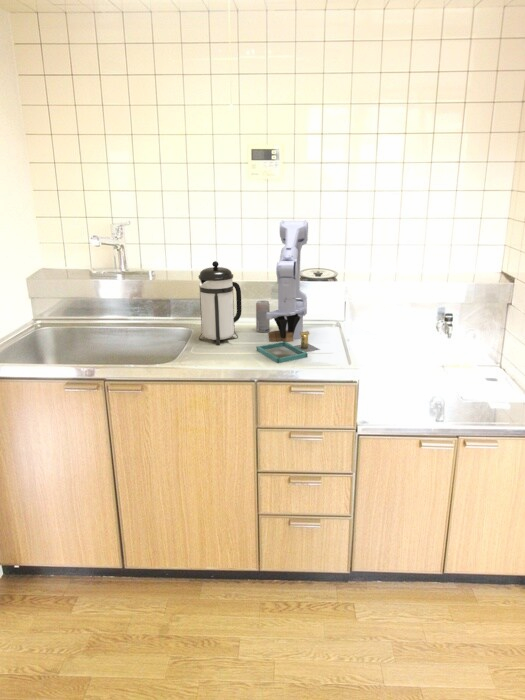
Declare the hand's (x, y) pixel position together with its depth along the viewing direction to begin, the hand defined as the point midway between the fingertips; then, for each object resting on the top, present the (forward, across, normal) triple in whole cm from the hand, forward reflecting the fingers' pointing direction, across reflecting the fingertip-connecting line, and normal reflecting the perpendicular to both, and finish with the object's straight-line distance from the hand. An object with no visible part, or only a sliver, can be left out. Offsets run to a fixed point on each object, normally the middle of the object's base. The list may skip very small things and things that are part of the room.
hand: (286, 337), depth 173 cm
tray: (+8, 0, +4) cm, 9 cm away
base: (+8, +10, +4) cm, 14 cm away
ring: (+2, 0, +3) cm, 4 cm away
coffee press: (+8, -10, +33) cm, 36 cm away
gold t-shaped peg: (+8, +10, +4) cm, 14 cm away
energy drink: (+8, +9, +34) cm, 36 cm away
